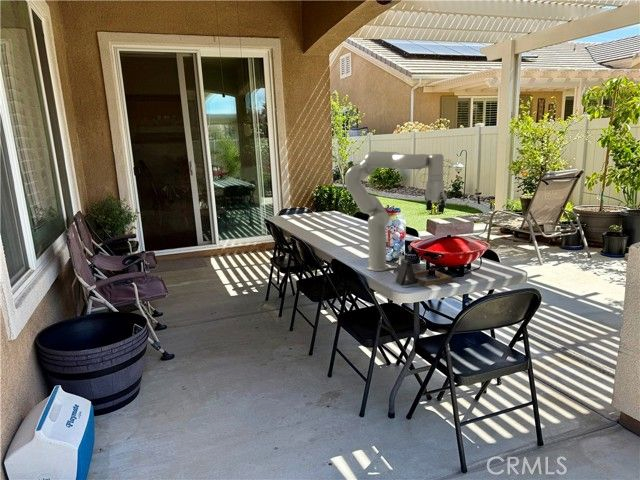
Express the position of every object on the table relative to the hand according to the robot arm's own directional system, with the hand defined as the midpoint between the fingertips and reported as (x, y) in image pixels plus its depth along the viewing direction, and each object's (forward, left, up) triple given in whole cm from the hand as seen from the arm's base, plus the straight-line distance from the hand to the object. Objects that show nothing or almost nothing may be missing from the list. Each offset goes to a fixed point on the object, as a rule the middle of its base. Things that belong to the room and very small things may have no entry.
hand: (434, 211), depth 232 cm
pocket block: (+10, -11, -33) cm, 36 cm away
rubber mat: (+10, -24, -33) cm, 42 cm away
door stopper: (+10, -24, -33) cm, 42 cm away
